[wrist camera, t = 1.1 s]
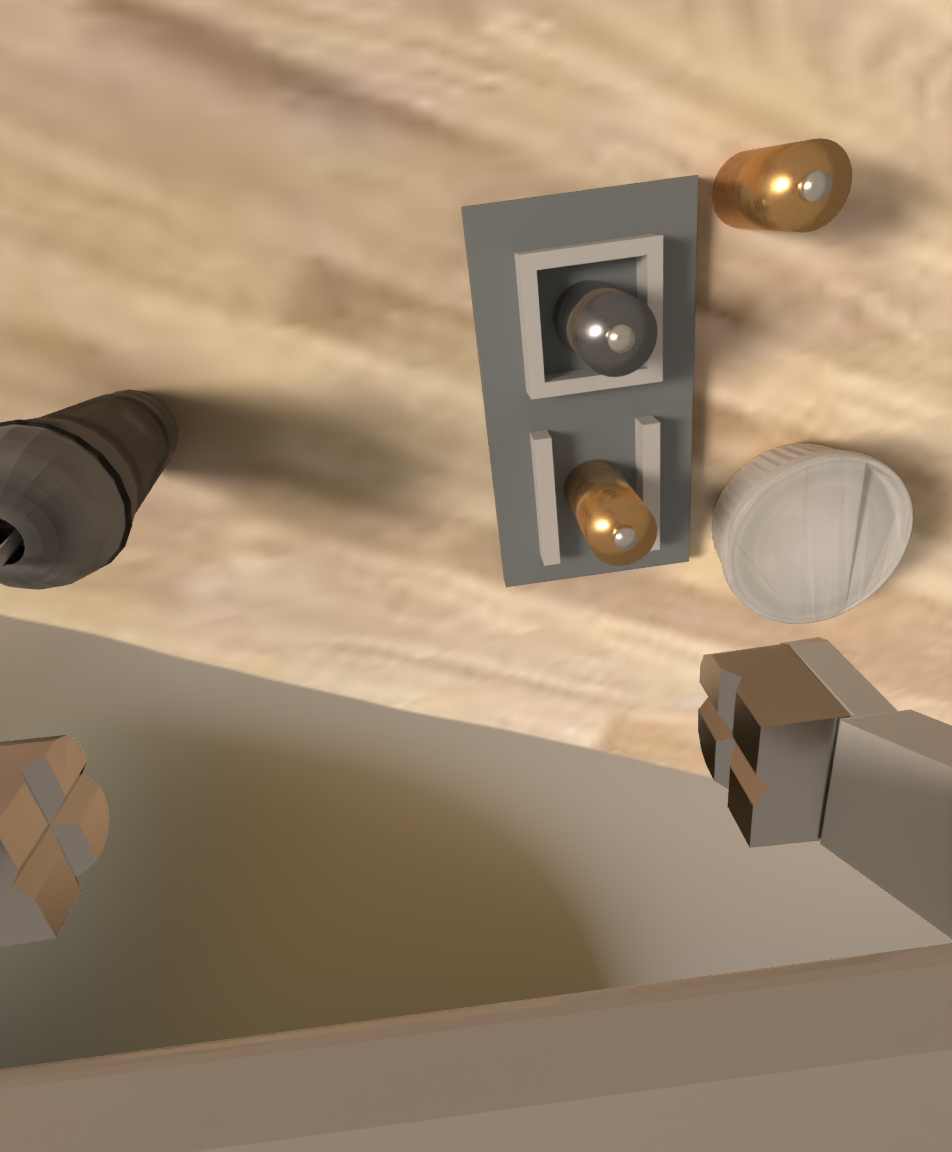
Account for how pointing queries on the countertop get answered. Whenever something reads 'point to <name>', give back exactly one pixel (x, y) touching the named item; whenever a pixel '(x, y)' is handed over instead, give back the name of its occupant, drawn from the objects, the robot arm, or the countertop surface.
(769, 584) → the ramekin
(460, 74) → the countertop surface
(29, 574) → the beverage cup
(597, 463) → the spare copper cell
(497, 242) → the gray slab
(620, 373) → the cylinder
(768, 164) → the copper cell
